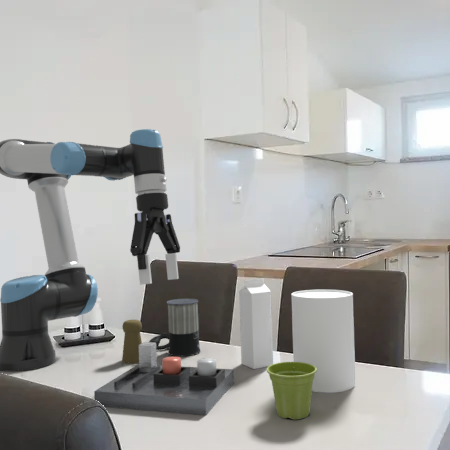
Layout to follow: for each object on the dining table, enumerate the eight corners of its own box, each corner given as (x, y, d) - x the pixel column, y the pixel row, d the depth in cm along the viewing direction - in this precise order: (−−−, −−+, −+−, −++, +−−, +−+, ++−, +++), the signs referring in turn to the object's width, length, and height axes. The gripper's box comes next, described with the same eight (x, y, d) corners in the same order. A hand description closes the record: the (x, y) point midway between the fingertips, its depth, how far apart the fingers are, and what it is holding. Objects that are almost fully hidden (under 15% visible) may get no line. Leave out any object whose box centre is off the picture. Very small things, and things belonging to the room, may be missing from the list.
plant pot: (284, 427, 89) (282, 378, 89) (259, 410, 98) (258, 365, 98) (328, 418, 93) (326, 371, 93) (300, 402, 102) (299, 359, 102)
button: (159, 375, 108) (159, 361, 108) (167, 369, 111) (166, 356, 111) (177, 376, 106) (176, 362, 106) (184, 370, 110) (183, 357, 110)
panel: (94, 405, 103) (93, 381, 103) (138, 376, 122) (138, 355, 122) (206, 415, 96) (205, 388, 96) (234, 382, 115) (233, 360, 115)
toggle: (139, 371, 115) (138, 345, 115) (145, 367, 118) (144, 342, 118) (151, 372, 114) (150, 345, 114) (156, 368, 117) (156, 342, 117)
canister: (288, 389, 109) (285, 297, 109) (300, 371, 122) (298, 289, 122) (352, 394, 105) (349, 298, 105) (358, 375, 117) (355, 290, 117)
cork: (139, 364, 133) (138, 322, 133) (118, 363, 135) (117, 322, 135) (147, 357, 139) (146, 318, 139) (127, 357, 140) (125, 317, 140)
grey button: (194, 377, 105) (194, 363, 105) (201, 371, 109) (200, 357, 109) (213, 378, 104) (212, 363, 104) (218, 372, 108) (218, 358, 108)
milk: (273, 365, 128) (271, 279, 128) (253, 369, 125) (251, 280, 125) (260, 360, 133) (258, 276, 133) (240, 363, 130) (238, 278, 130)
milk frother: (199, 356, 139) (197, 302, 139) (142, 358, 139) (140, 304, 139) (202, 344, 153) (200, 295, 153) (150, 345, 154) (149, 297, 154)
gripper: (137, 186, 109) (147, 284, 108) (187, 195, 132) (196, 276, 131) (108, 192, 112) (117, 287, 110) (162, 199, 135) (170, 278, 134)
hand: (160, 281), depth 121 cm, fingers open, 13 cm apart
